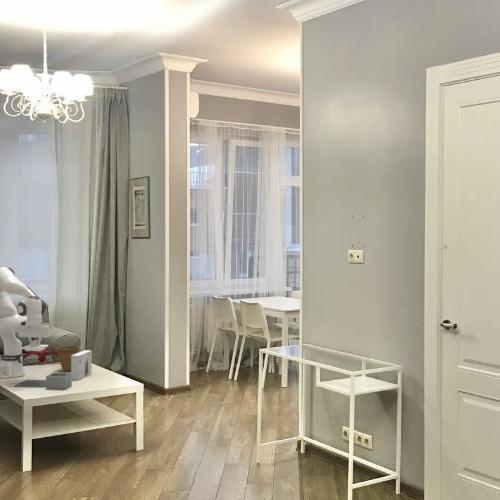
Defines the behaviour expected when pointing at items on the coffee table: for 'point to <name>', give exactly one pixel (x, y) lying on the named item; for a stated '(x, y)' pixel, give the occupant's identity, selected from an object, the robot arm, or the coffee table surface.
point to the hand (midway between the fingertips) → (35, 344)
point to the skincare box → (81, 364)
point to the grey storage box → (58, 381)
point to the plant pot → (67, 356)
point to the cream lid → (34, 346)
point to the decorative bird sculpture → (40, 355)
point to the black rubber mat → (32, 383)
